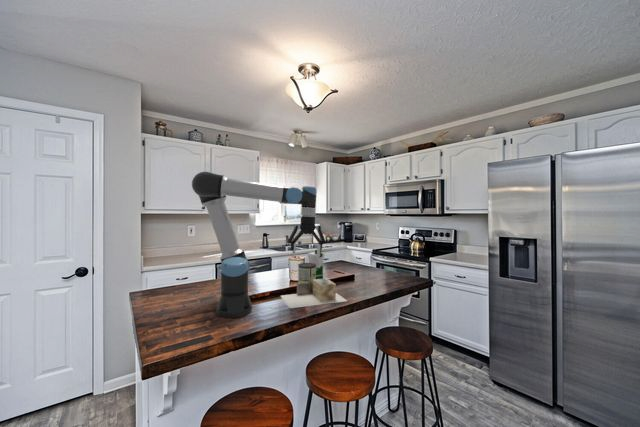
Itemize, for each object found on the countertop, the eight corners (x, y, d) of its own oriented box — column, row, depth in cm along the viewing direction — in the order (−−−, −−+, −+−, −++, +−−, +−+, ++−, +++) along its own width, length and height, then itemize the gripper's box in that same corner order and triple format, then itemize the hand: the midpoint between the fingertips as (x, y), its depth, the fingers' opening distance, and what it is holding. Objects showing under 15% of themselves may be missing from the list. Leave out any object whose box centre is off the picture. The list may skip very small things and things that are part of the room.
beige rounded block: (320, 301, 136) (321, 285, 136) (312, 294, 147) (312, 279, 147) (335, 299, 139) (335, 283, 139) (326, 292, 150) (326, 277, 150)
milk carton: (314, 283, 170) (315, 251, 169) (305, 280, 176) (306, 249, 176) (325, 281, 175) (325, 250, 175) (316, 278, 182) (316, 248, 182)
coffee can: (299, 285, 165) (299, 262, 165) (316, 286, 164) (317, 263, 164) (296, 290, 155) (296, 266, 154) (314, 291, 154) (314, 266, 153)
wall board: (289, 309, 127) (289, 308, 127) (280, 296, 144) (280, 295, 144) (347, 302, 138) (347, 300, 138) (332, 291, 155) (332, 290, 155)
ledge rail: (297, 296, 145) (298, 283, 145) (296, 295, 147) (296, 282, 147) (332, 292, 153) (332, 280, 153) (330, 291, 155) (331, 279, 154)
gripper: (286, 215, 135) (284, 258, 136) (332, 217, 144) (330, 257, 144) (283, 215, 142) (281, 255, 143) (327, 216, 151) (325, 255, 152)
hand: (306, 256), depth 144 cm, fingers open, 13 cm apart
